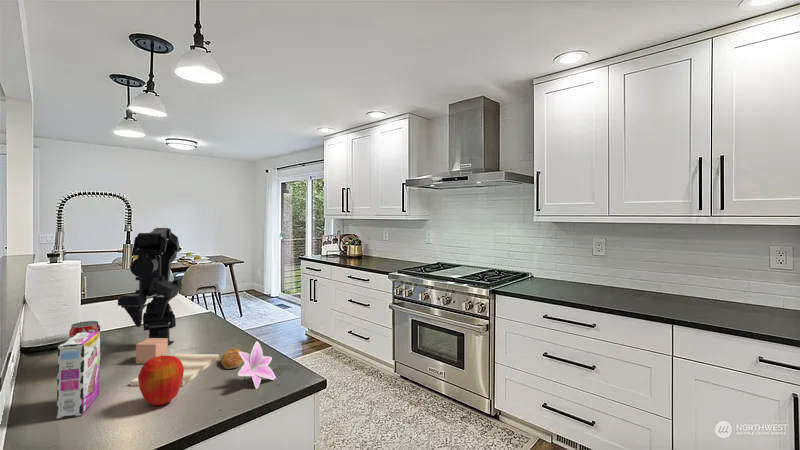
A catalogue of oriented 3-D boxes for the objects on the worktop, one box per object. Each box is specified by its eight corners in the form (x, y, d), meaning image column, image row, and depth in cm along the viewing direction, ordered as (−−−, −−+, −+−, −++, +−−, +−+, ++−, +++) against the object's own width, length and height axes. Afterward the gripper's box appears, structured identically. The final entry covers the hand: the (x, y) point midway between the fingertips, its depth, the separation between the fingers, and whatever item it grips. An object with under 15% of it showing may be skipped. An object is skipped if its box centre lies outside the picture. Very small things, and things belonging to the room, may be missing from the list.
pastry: (245, 368, 112) (245, 355, 112) (220, 372, 109) (220, 359, 109) (243, 357, 120) (243, 346, 120) (220, 361, 117) (220, 349, 117)
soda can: (82, 372, 107) (82, 327, 106) (62, 370, 108) (62, 326, 108) (106, 363, 114) (106, 321, 113) (87, 361, 115) (87, 319, 115)
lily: (229, 399, 95) (246, 368, 94) (220, 367, 104) (236, 338, 102) (271, 398, 103) (287, 370, 102) (260, 369, 111) (275, 343, 110)
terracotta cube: (149, 356, 120) (149, 338, 120) (167, 356, 120) (167, 338, 120) (135, 363, 114) (136, 344, 114) (155, 364, 114) (155, 344, 114)
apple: (133, 415, 84) (134, 363, 84) (143, 398, 92) (143, 350, 92) (181, 408, 88) (181, 357, 88) (186, 391, 96) (186, 345, 96)
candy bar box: (84, 416, 84) (84, 343, 84) (55, 420, 82) (55, 346, 82) (101, 394, 94) (101, 329, 94) (76, 397, 92) (76, 332, 92)
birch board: (175, 357, 119) (175, 353, 119) (218, 358, 119) (218, 354, 119) (130, 385, 99) (130, 381, 99) (183, 386, 99) (183, 381, 99)
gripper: (153, 277, 106) (153, 332, 106) (193, 269, 125) (193, 315, 125) (116, 277, 107) (115, 331, 107) (161, 269, 125) (161, 315, 126)
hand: (149, 322), depth 116 cm, fingers open, 9 cm apart
